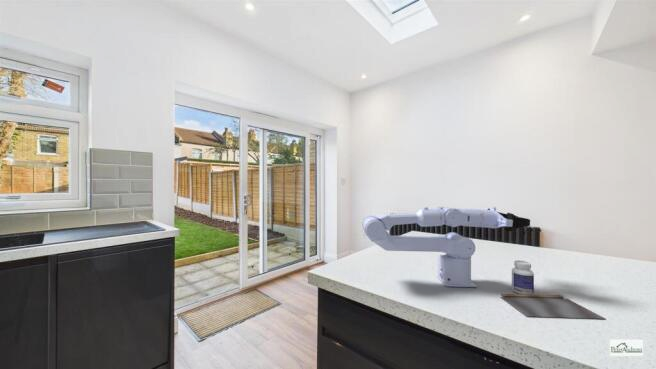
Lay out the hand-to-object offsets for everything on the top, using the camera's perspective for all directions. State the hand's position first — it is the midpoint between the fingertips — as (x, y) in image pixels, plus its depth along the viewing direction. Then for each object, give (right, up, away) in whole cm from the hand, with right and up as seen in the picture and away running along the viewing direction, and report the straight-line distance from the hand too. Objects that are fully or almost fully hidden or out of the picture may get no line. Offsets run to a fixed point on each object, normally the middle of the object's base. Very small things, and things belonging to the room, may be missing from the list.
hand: (520, 220), depth 81 cm
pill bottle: (-4, -21, -6) cm, 22 cm away
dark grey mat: (-5, -21, -15) cm, 26 cm away
